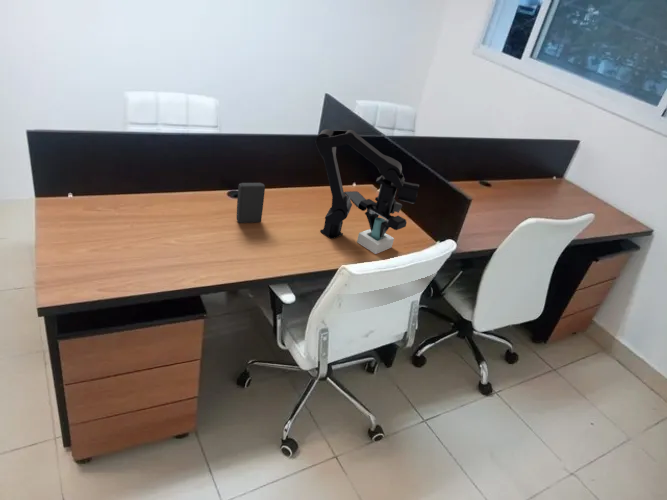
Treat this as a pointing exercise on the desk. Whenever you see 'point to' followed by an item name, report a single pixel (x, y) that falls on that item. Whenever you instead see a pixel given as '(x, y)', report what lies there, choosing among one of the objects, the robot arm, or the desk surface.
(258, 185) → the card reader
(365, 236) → the socket
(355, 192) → the smartphone
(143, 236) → the desk surface
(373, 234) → the peg
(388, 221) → the robot arm
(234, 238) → the desk surface
